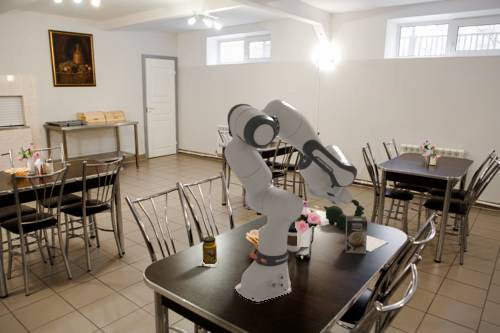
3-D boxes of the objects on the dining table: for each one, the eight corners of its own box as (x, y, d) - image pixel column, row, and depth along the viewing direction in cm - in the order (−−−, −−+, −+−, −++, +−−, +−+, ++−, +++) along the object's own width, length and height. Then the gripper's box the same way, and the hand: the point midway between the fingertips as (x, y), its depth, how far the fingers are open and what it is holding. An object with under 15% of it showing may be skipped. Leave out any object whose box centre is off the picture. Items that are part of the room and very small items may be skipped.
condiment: (216, 268, 158) (215, 241, 156) (196, 267, 159) (195, 241, 156) (219, 260, 165) (218, 235, 163) (200, 259, 166) (199, 234, 163)
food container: (317, 245, 180) (317, 225, 178) (304, 244, 181) (305, 225, 179) (313, 235, 193) (314, 217, 190) (301, 235, 193) (302, 217, 191)
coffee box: (346, 253, 171) (346, 220, 167) (345, 247, 177) (345, 215, 174) (366, 254, 170) (367, 221, 166) (364, 247, 176) (365, 216, 172)
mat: (370, 252, 172) (370, 251, 172) (346, 243, 182) (346, 242, 182) (388, 242, 182) (388, 242, 182) (364, 235, 192) (364, 234, 192)
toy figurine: (364, 234, 198) (327, 218, 216) (369, 201, 192) (331, 187, 211) (353, 238, 192) (317, 221, 210) (358, 204, 187) (320, 190, 205)
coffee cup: (308, 247, 178) (309, 224, 175) (298, 256, 169) (299, 231, 166) (288, 242, 183) (289, 219, 181) (277, 250, 175) (278, 226, 172)
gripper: (298, 185, 155) (313, 203, 163) (339, 196, 140) (352, 214, 148) (306, 173, 157) (319, 191, 165) (346, 182, 142) (359, 201, 150)
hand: (335, 202), depth 157 cm, fingers closed
